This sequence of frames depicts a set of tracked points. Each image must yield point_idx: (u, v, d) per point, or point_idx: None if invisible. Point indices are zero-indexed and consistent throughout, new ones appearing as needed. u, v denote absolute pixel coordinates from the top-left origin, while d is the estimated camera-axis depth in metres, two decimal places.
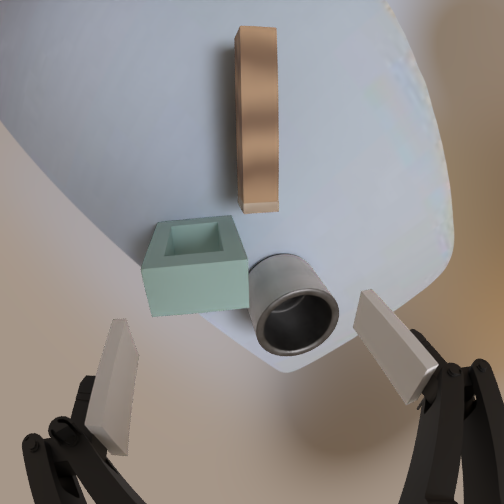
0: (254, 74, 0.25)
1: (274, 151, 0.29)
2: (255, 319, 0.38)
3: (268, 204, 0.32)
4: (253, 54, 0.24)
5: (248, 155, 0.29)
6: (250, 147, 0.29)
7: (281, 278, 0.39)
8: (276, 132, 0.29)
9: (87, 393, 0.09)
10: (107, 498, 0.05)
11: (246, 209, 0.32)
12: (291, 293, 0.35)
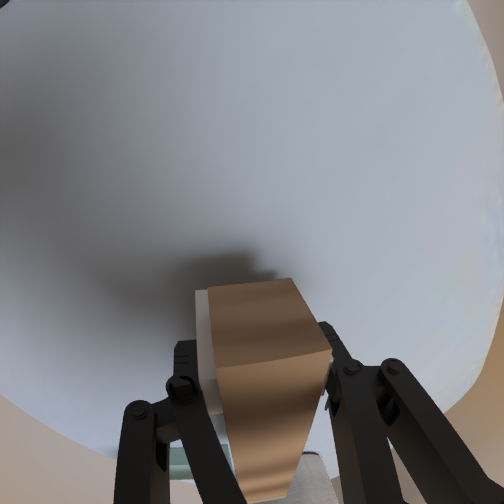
0: (260, 441, 0.11)
1: (286, 480, 0.15)
2: None
3: (273, 497, 0.18)
4: (257, 417, 0.10)
5: (248, 488, 0.15)
6: (251, 484, 0.15)
7: (284, 500, 0.24)
8: (292, 471, 0.14)
9: (185, 356, 0.12)
10: (203, 460, 0.07)
11: None
12: None
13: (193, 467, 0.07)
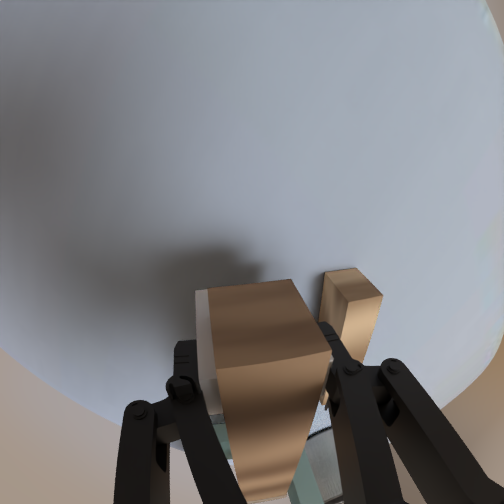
0: (259, 441, 0.11)
1: (286, 480, 0.15)
2: None
3: (273, 497, 0.18)
4: (257, 418, 0.10)
5: (248, 488, 0.15)
6: (251, 485, 0.15)
7: None
8: (292, 471, 0.14)
9: (185, 356, 0.12)
10: (203, 460, 0.07)
11: None
12: None
13: (193, 467, 0.07)
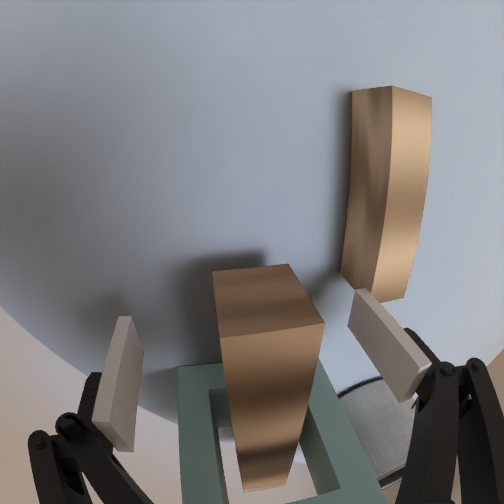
0: (260, 417, 0.13)
1: (286, 464, 0.17)
2: None
3: (274, 485, 0.19)
4: (257, 391, 0.11)
5: (249, 472, 0.16)
6: (251, 469, 0.16)
7: (385, 438, 0.19)
8: (291, 454, 0.16)
9: (93, 389, 0.09)
10: (113, 495, 0.05)
11: (247, 491, 0.19)
12: (402, 466, 0.16)
13: None
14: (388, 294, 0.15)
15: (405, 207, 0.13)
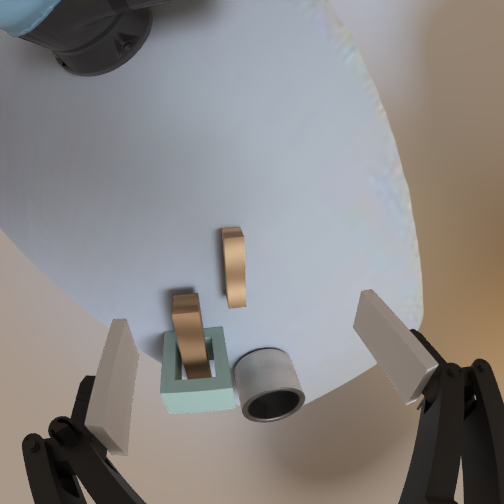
0: (187, 344, 0.41)
1: (207, 377, 0.45)
2: (241, 403, 0.47)
3: None
4: (184, 332, 0.40)
5: None
6: (192, 377, 0.45)
7: (261, 376, 0.48)
8: (207, 370, 0.45)
9: (87, 393, 0.09)
10: (107, 498, 0.05)
11: None
12: (266, 391, 0.45)
13: None
14: (237, 305, 0.44)
15: (235, 275, 0.42)
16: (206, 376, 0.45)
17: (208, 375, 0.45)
